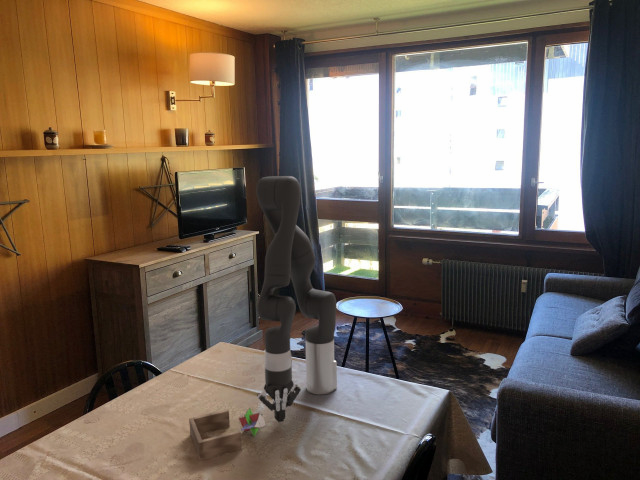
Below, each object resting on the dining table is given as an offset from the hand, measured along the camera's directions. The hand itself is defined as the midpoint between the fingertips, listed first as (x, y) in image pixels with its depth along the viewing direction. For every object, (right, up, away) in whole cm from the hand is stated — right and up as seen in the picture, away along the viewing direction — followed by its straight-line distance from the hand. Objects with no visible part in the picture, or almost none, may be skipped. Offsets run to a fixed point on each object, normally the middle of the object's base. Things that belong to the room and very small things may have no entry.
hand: (279, 420), depth 148 cm
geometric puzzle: (-8, -2, -3) cm, 8 cm away
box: (-17, -3, -7) cm, 18 cm away
